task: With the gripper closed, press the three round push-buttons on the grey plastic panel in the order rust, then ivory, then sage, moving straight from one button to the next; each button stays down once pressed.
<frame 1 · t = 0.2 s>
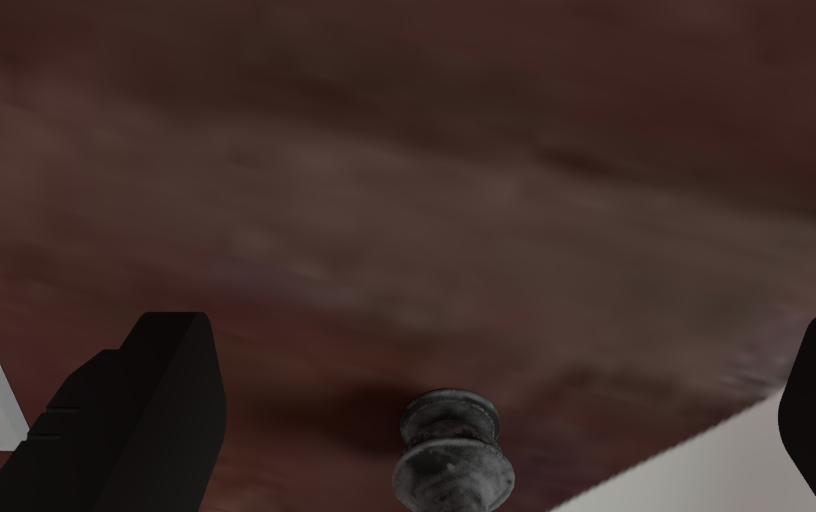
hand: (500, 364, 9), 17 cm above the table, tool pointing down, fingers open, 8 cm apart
dark chess piece: (449, 422, 34), on the table
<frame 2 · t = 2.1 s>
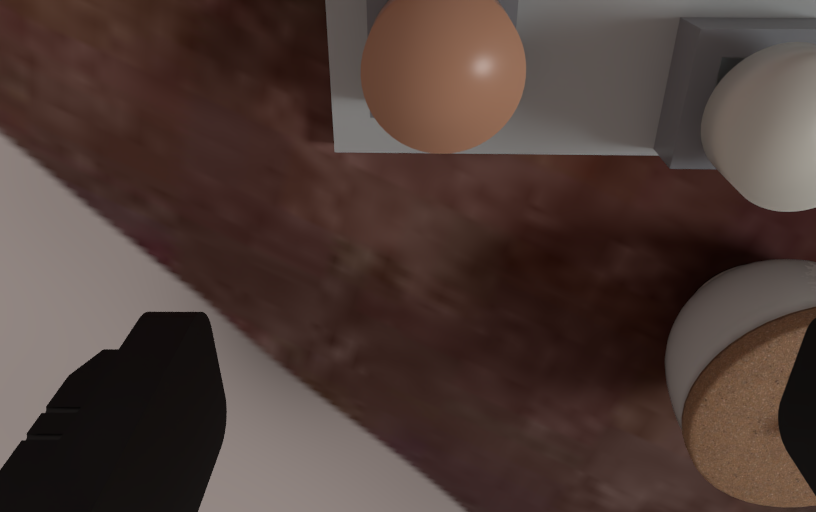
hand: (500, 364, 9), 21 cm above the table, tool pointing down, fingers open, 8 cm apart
ivory button: (777, 117, 23), point 5 cm above the table, slide at 0.0 cm
rust button: (441, 58, 22), point 5 cm above the table, slide at 0.0 cm
lidded jar: (742, 311, 33), on the table
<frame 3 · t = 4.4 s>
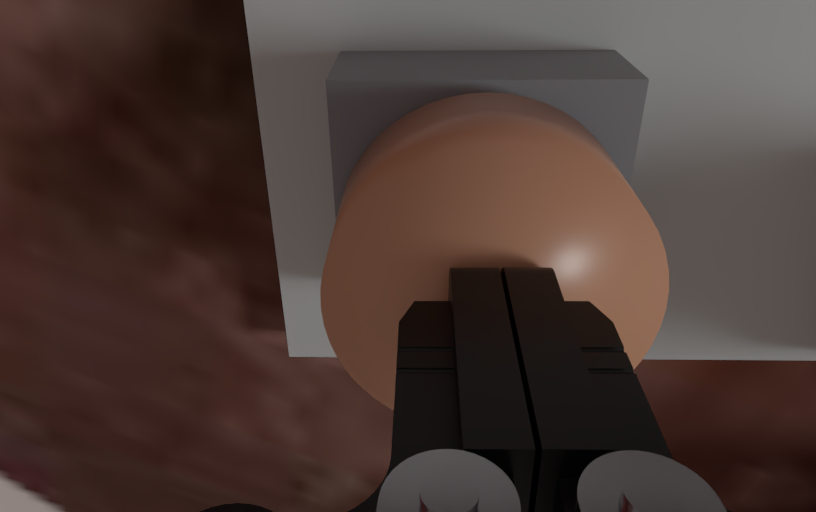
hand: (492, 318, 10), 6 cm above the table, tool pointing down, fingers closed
rust button: (480, 235, 12), point 4 cm above the table, slide at 1.2 cm, touching gripper
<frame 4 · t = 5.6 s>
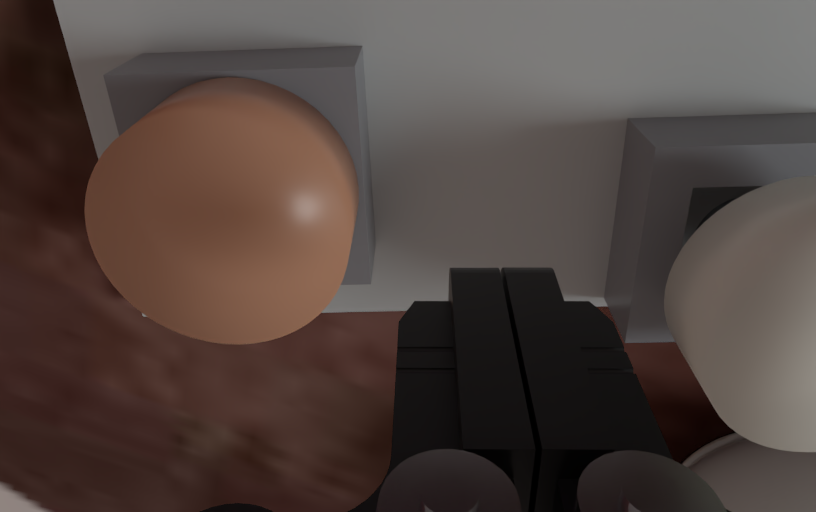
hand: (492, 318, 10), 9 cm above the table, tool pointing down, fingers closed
ivory button: (786, 287, 14), point 5 cm above the table, slide at 0.0 cm
rust button: (245, 192, 15), point 3 cm above the table, slide at 1.5 cm
lidded jar: (746, 482, 24), on the table
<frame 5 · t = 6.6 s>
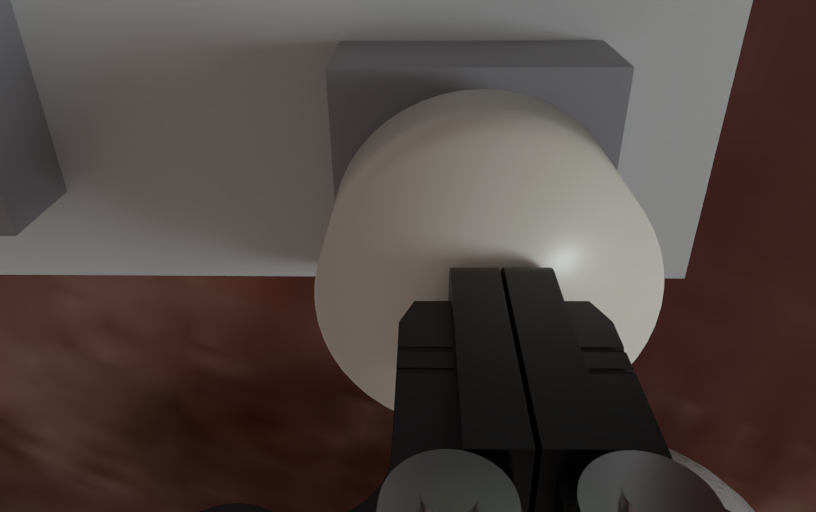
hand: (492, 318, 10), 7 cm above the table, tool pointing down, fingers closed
ivory button: (476, 233, 12), point 4 cm above the table, slide at 0.6 cm, touching gripper
lidded jar: (570, 486, 22), on the table
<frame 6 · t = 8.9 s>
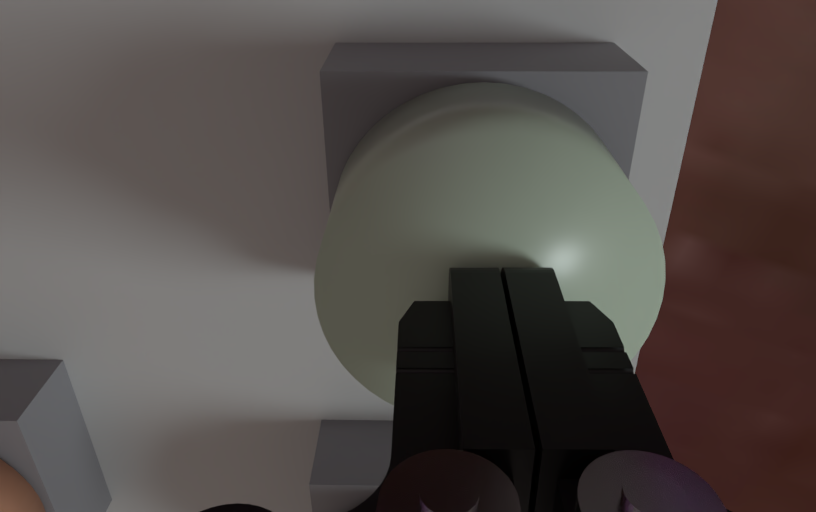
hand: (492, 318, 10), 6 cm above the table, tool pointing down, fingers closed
sage button: (476, 227, 12), point 4 cm above the table, slide at 1.3 cm, touching gripper
panel: (211, 297, 17), on the table
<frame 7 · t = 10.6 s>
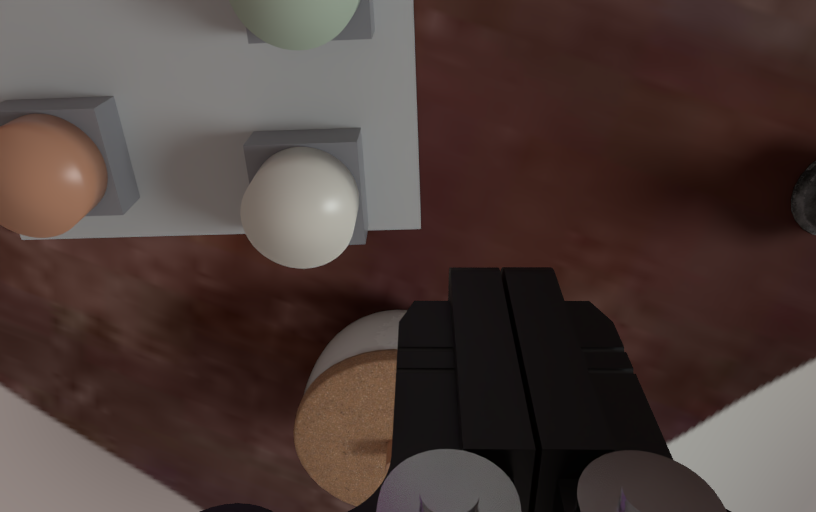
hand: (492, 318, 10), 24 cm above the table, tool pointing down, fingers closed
ivory button: (305, 198, 31), point 3 cm above the table, slide at 1.5 cm
rust button: (51, 167, 31), point 3 cm above the table, slide at 1.5 cm
panel: (191, 61, 32), on the table
lidded jar: (401, 350, 40), on the table
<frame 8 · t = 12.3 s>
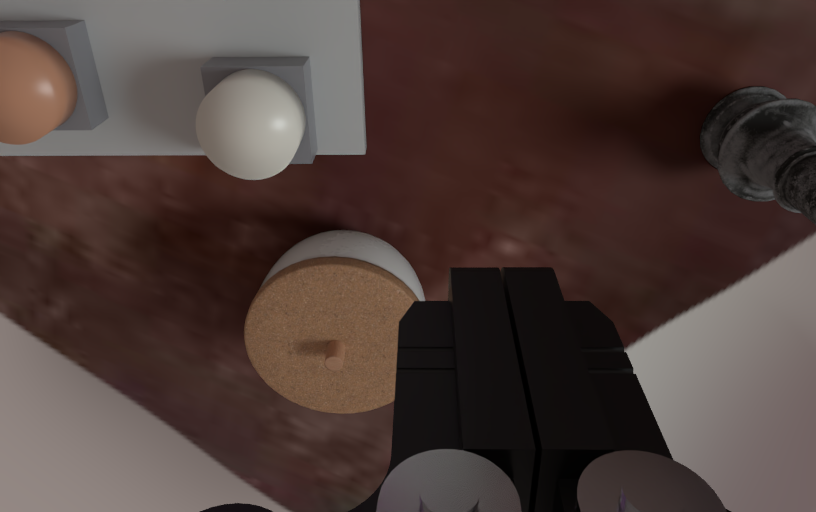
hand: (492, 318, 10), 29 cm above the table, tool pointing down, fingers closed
ivory button: (257, 118, 35), point 3 cm above the table, slide at 1.5 cm
dark chess piece: (744, 129, 38), on the table
rust button: (26, 82, 34), point 3 cm above the table, slide at 1.5 cm
lidded jar: (350, 273, 44), on the table
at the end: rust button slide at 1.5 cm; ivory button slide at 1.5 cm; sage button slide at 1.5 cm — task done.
